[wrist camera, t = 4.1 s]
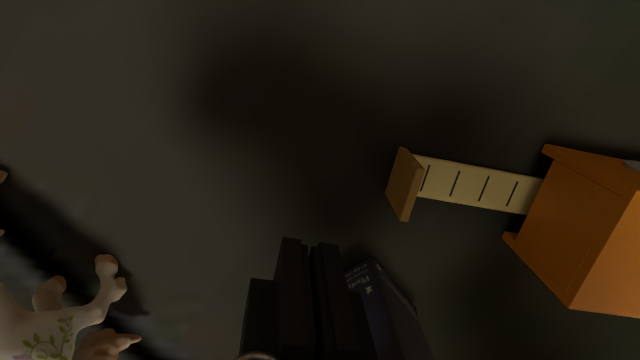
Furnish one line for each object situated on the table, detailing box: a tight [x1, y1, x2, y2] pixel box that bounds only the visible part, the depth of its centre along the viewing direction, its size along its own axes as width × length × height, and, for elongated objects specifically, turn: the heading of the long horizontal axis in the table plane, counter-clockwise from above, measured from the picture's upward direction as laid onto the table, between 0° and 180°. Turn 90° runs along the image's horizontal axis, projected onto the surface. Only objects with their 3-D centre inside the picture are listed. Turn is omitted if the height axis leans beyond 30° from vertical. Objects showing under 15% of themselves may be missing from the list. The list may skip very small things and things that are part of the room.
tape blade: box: [385, 147, 544, 222], centre depth 23 cm, size 12×3×4 cm, turn 78°
